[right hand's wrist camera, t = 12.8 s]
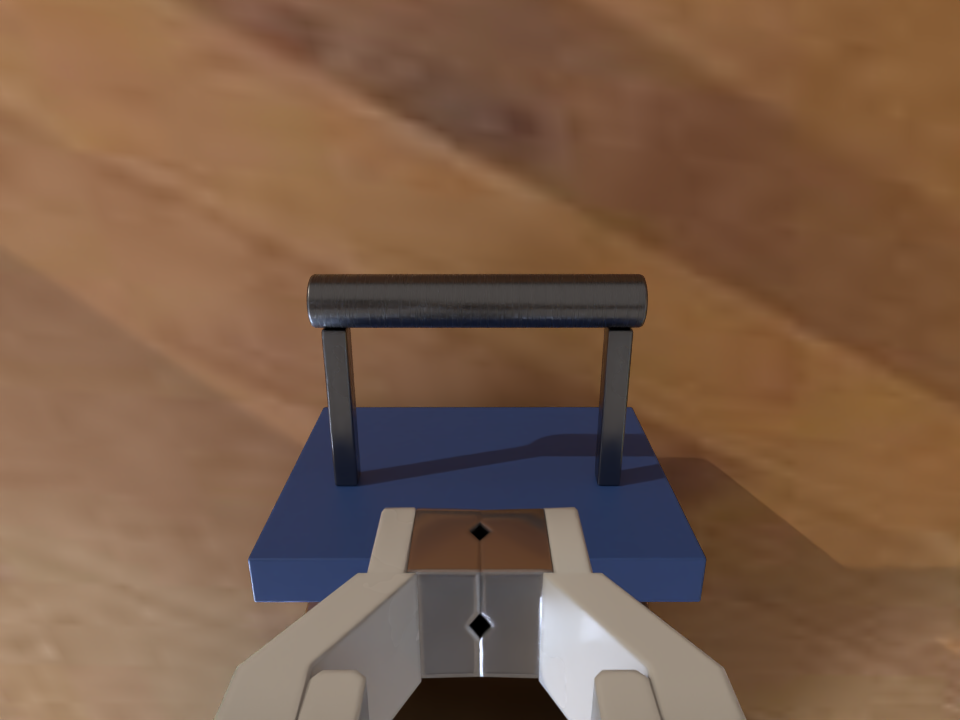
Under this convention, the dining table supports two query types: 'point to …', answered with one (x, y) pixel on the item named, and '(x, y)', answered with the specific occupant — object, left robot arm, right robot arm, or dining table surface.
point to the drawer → (476, 459)
